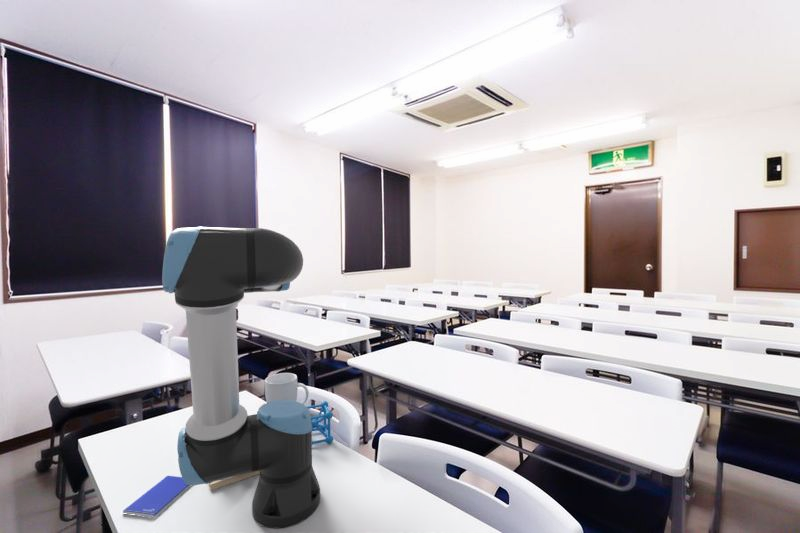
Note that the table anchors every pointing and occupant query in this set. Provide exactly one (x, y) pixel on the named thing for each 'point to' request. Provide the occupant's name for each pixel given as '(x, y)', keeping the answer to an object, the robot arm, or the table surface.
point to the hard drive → (158, 497)
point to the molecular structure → (323, 427)
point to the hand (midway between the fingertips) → (227, 382)
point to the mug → (283, 387)
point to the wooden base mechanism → (231, 480)
